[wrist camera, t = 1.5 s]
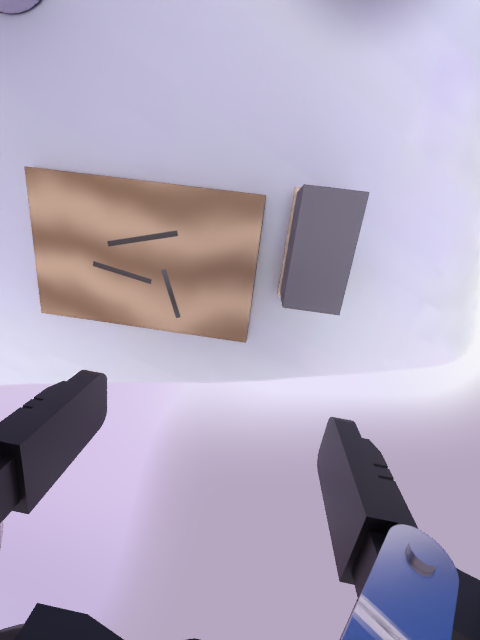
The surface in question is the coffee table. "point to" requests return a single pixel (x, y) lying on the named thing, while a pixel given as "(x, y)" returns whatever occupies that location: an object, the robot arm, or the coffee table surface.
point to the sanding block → (320, 247)
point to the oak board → (145, 252)
